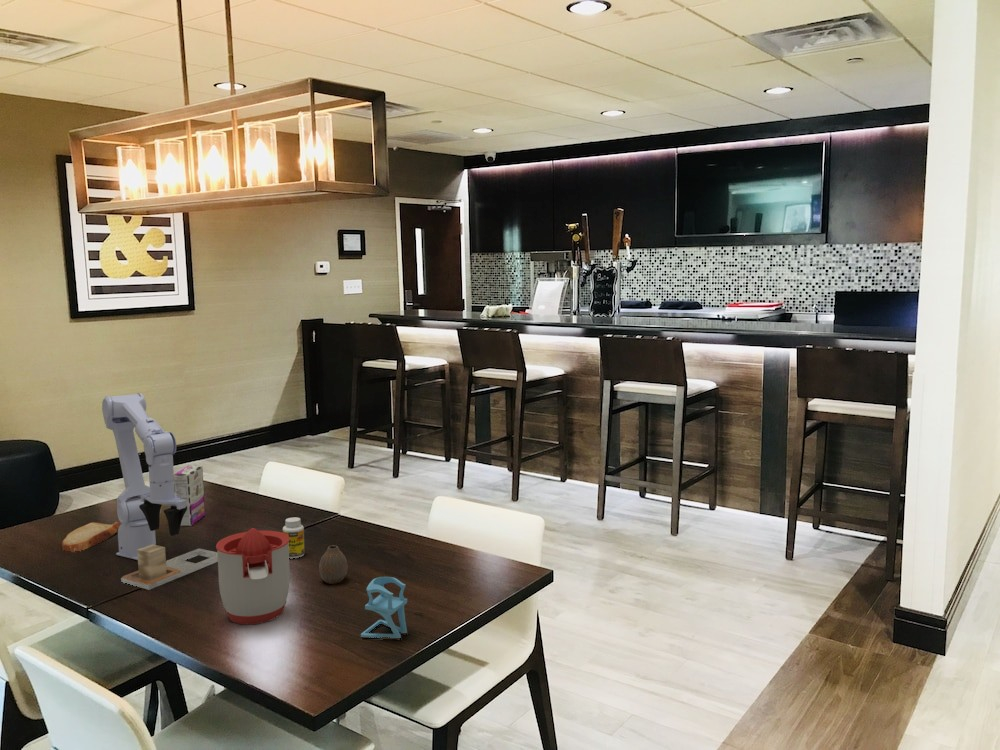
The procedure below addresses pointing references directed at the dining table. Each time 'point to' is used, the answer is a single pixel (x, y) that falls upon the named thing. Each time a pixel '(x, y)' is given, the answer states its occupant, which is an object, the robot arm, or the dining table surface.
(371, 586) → the chair
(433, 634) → the dining table surface
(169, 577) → the rail
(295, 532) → the supplement bottle
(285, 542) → the citrus juicer
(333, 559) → the vase
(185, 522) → the candy bar box
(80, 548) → the bread slice
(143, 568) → the birch peg
